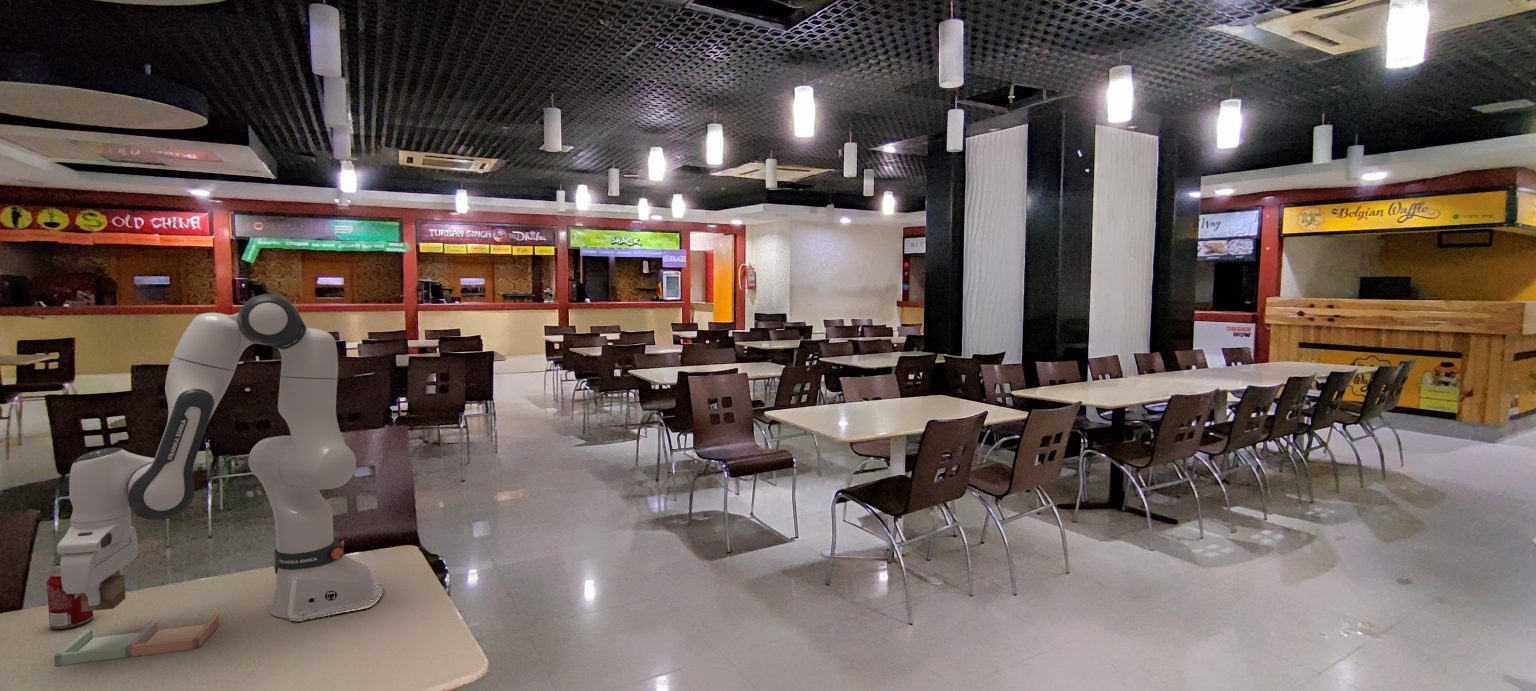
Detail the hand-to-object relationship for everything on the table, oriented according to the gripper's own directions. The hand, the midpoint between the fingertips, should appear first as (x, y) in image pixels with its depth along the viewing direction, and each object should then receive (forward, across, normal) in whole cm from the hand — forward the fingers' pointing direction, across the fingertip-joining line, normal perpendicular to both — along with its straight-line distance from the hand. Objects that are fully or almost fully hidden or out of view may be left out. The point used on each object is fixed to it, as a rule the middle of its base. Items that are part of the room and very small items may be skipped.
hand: (104, 597), depth 146 cm
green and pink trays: (+10, 0, +6) cm, 12 cm away
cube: (+2, 0, 0) cm, 2 cm away
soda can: (+10, -14, -12) cm, 21 cm away
